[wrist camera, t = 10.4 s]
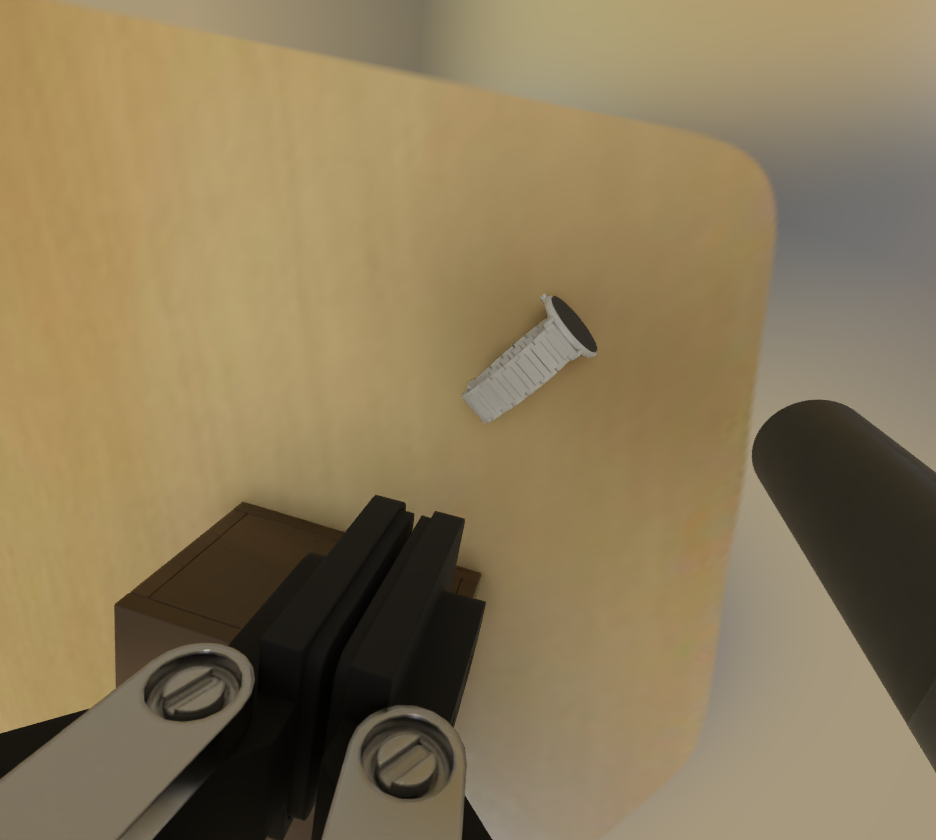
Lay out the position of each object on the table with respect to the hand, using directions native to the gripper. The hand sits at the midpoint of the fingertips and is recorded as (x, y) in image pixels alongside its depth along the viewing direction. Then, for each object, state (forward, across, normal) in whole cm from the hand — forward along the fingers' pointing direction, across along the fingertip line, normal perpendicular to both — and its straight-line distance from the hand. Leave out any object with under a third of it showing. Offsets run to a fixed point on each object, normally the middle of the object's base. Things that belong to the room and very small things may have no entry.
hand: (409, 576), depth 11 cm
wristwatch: (+15, 0, -1) cm, 16 cm away
